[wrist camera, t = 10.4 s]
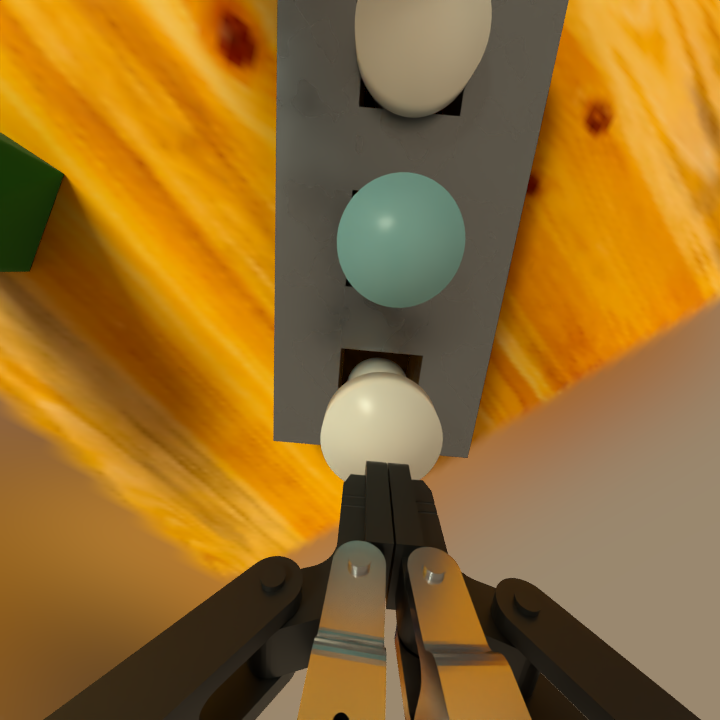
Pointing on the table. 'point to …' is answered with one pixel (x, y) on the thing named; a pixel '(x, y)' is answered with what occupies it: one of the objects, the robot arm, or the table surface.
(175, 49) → the table surface
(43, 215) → the milk carton
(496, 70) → the socket strip
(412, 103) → the ivory plug
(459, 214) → the plug teal
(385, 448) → the ivory plug
